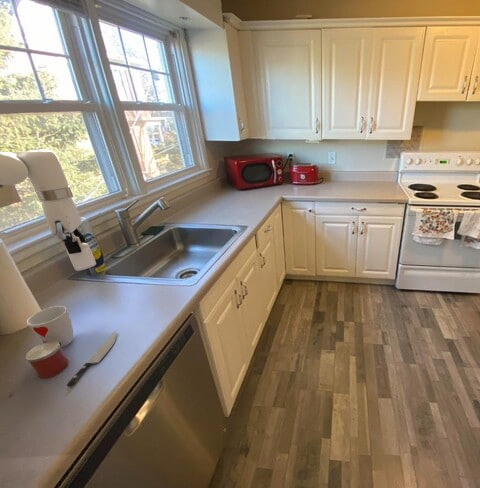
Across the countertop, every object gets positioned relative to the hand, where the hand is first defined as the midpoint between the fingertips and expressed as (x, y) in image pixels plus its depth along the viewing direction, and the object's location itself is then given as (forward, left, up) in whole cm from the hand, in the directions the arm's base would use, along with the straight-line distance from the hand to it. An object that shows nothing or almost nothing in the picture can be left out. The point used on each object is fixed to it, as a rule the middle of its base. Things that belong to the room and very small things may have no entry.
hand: (78, 249), depth 90 cm
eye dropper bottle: (0, 0, -7) cm, 7 cm away
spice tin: (-3, -30, -21) cm, 36 cm away
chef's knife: (+7, -30, -21) cm, 37 cm away
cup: (-5, -19, -21) cm, 29 cm away
